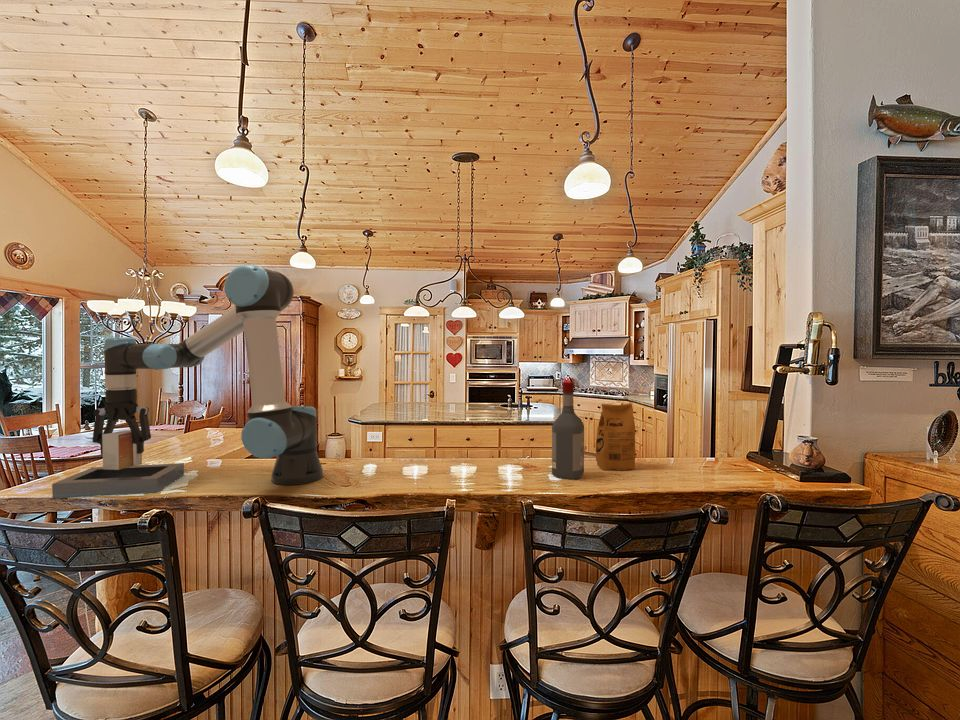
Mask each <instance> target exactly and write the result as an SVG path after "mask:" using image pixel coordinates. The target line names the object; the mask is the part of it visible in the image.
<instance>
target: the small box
mask: <svg viewBox="0 0 960 720" xmlns="http://www.w3.org/2000/svg"><path fill="white" fill-rule="evenodd" d="M140 431H141V429H140ZM135 442H136V441H135V439H134V437H133V434H132V432H131V430H130V429H124V430H119V431H115V432H114V431H113V432H112V433H109V434H103V435H102V445H103V455H102V467H103V469H106V470H120V469H123V468H127V467H131V466H133V444H134V443H135ZM142 454H143V453H141V463H140V464H138V465H143V463H142V462H143V460H142V459H143V458H142V457H143V455H142ZM134 466H136V465H134Z"/></svg>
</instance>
